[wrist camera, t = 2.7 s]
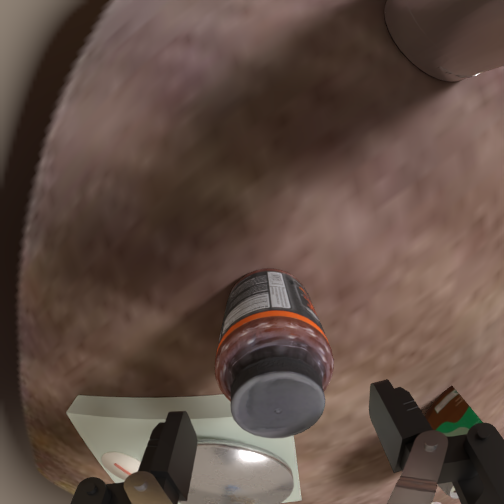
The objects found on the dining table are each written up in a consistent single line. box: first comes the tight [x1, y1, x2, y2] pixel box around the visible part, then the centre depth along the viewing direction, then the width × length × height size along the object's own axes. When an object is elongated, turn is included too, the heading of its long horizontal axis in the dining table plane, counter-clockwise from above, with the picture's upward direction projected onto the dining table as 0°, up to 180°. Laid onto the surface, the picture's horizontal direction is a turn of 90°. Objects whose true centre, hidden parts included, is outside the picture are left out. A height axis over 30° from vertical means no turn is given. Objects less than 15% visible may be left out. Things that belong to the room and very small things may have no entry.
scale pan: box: [178, 439, 294, 504], centre depth 22 cm, size 13×13×2 cm
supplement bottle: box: [215, 269, 334, 438], centre depth 17 cm, size 6×6×11 cm
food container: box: [425, 386, 483, 498], centre depth 21 cm, size 12×6×10 cm, turn 34°
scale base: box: [66, 394, 301, 504], centre depth 25 cm, size 16×21×4 cm
